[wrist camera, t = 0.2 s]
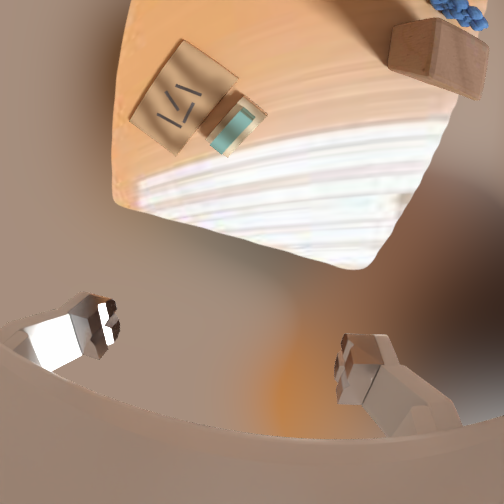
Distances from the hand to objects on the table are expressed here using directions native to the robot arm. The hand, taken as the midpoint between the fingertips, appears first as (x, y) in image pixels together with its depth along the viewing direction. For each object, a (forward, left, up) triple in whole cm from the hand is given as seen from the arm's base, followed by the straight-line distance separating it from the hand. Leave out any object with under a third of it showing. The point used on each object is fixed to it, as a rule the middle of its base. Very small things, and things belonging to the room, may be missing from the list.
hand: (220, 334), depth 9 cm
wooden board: (+14, -16, -52) cm, 56 cm away
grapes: (-41, +7, -52) cm, 66 cm away
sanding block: (+11, -3, -52) cm, 53 cm away
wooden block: (-26, +10, -52) cm, 59 cm away
